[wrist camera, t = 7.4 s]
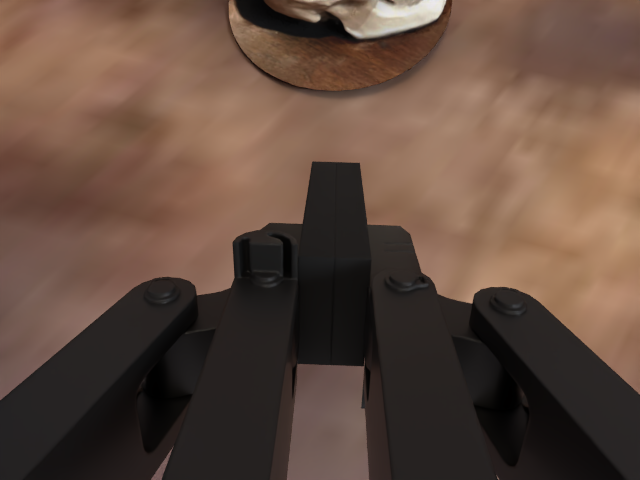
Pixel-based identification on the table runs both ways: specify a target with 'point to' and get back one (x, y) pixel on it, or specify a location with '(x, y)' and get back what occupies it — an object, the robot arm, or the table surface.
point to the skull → (337, 38)
